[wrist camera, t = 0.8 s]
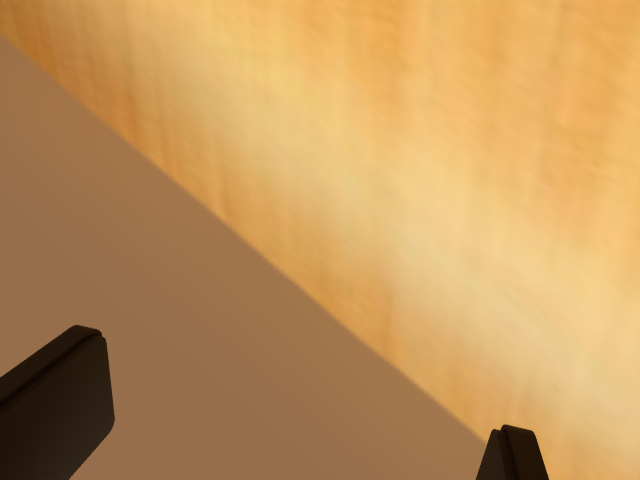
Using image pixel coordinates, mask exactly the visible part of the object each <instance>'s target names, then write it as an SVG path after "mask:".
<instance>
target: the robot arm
mask: <svg viewBox="0 0 640 480" xmlns="http://www.w3.org/2000/svg"><path fill="white" fill-rule="evenodd" d="M113 408H114V407H113V398H112V389H111V380H110V370H109V361H108V352H107V343H106V339H105V338H104V337H102V333H101V332H100V331H99V330H97V329H93V328H88V327H84V326H80V325H74V326H72V327H70V328H69V329H68V330H66V331H65V332H63V333H62V334H61V335H60V336H58V337H56V338H55V339H54V340H52V341H51V342H49V343H48V344H47V345H45V346H44V347H43V348H41V349H40V350H38V351H37V352H35V353H34V354H33V355H31V356H30V357H28V358H27V359H26V360H24V361H23V362H21V363H20V364H19V365H17V366H16V367H15V368H13V369H12V370H10V371H9V372H7V373H6V374H5V375H3V376H2V377H0V480H69V479H70V477H71V476H72V475H73V474H74V473H75V472H76V471H77V469H78V468H79V467H80V466H81V465H82V464H83V463H84V461H85V460H86V459H87V458H88V457H89V456H90V455H91V453H92V452H93V451H94V450H95V449H96V448H97V446H99V444H100V443H101V442H102V441H103V440H104V438H106V436H107V435H108V434H109V433H110V431H111V429H112V427H113V425H114V421H115V417H114V409H113ZM476 480H549V478H548V475H547V471H546V468H545V465H544V462H543V459H542V455H541V452H540V449H539V446H538V442H537V439H536V436H535V434H534V432H533V431H531V430H527V429H523V428H518V427H514V426H510V425H503V426H502V428H501V430H496V429H493V430H492V432H491V434H490V437H489V440H488V444H487V447H486V450H485V453H484V456H483V459H482V462H481V465H480V468H479V471H478V474H477V478H476Z"/></svg>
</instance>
